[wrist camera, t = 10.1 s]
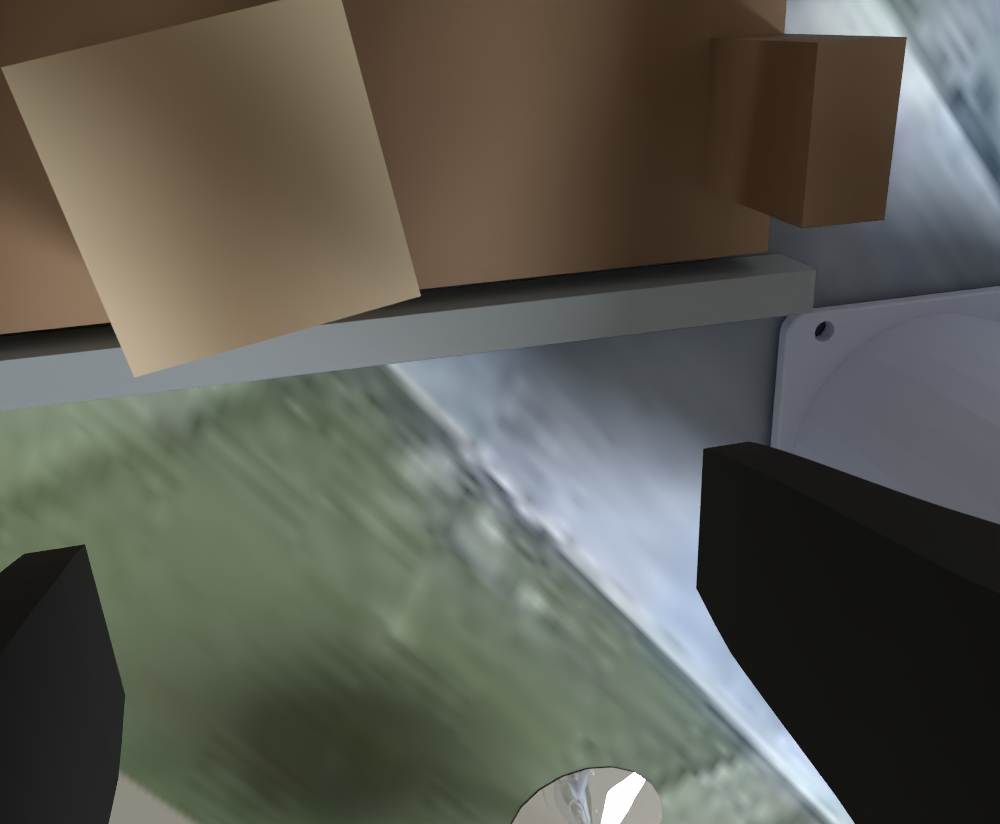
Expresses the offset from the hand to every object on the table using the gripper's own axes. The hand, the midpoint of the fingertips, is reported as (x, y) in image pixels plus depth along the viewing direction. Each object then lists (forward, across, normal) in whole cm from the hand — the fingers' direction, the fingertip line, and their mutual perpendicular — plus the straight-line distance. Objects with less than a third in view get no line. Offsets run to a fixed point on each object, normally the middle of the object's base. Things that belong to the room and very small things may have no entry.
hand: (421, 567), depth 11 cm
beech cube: (+9, +2, -4) cm, 10 cm away
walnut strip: (+10, -1, -4) cm, 11 cm away
